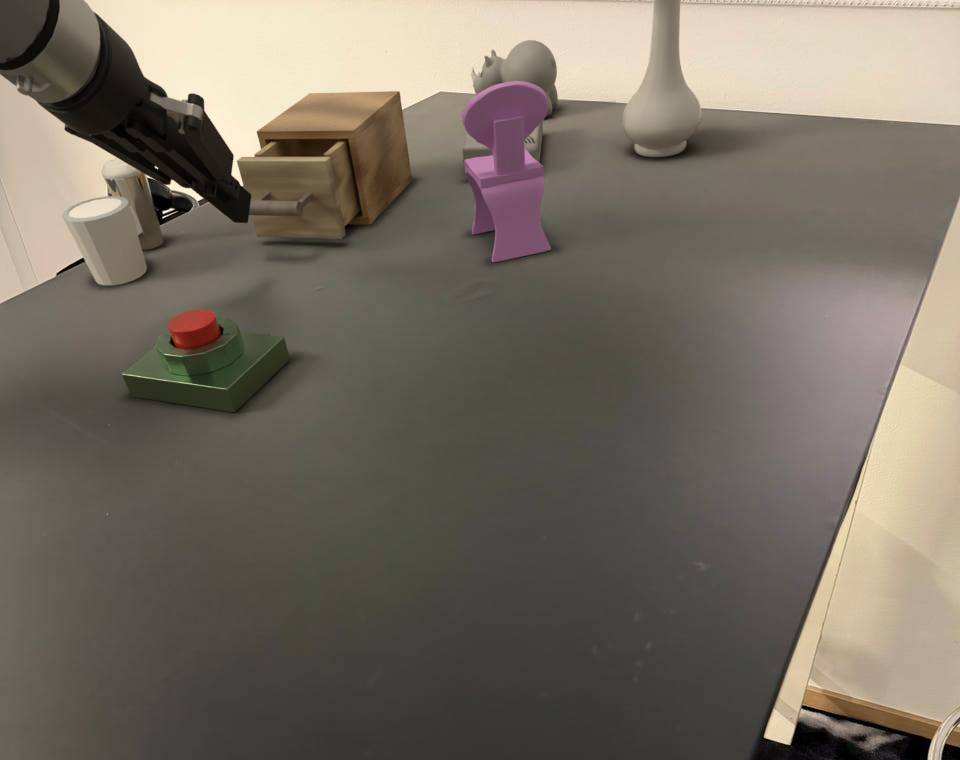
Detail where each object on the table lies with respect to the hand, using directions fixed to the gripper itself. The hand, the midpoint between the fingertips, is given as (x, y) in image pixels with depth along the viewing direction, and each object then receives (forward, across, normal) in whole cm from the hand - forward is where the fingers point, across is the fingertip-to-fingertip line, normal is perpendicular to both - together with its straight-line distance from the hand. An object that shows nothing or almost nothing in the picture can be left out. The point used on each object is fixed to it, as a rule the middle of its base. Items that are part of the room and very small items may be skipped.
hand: (242, 208), depth 85 cm
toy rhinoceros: (+44, +12, +33) cm, 56 cm away
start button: (-10, +4, -16) cm, 19 cm away
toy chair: (+14, +23, +3) cm, 27 cm away
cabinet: (+21, 0, +10) cm, 23 cm away
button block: (-8, +4, -18) cm, 20 cm away
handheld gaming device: (+32, +15, +21) cm, 41 cm away
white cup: (+6, -18, -5) cm, 20 cm away
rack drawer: (+14, 0, +5) cm, 15 cm away
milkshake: (+11, -19, +1) cm, 22 cm away
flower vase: (+33, +33, +22) cm, 52 cm away
